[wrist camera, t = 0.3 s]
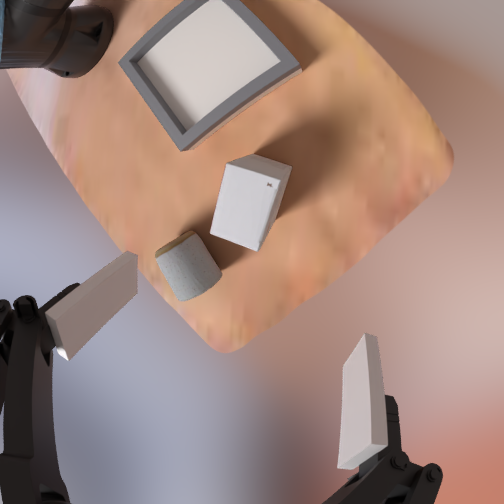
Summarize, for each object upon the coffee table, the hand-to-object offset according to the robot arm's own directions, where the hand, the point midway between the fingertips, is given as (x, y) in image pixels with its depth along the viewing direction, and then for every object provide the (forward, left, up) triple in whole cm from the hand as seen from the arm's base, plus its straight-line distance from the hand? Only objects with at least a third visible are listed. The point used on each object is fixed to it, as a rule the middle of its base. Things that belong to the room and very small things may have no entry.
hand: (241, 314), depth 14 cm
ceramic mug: (-1, -18, -24) cm, 31 cm away
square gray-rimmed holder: (-23, +2, -24) cm, 33 cm away
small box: (-4, -2, -24) cm, 25 cm away
